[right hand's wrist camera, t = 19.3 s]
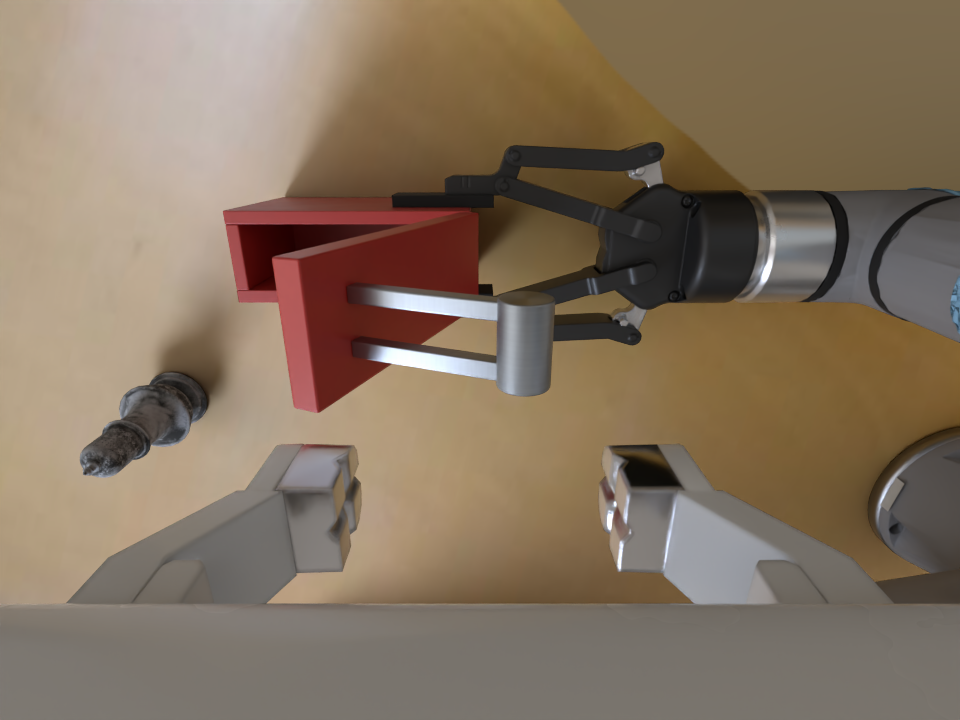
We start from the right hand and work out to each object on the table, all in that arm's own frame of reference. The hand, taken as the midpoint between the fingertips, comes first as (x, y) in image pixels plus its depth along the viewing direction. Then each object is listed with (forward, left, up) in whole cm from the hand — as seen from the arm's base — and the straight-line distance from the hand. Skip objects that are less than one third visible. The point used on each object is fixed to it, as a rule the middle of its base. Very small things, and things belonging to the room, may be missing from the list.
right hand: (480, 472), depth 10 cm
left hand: (-5, +2, -27) cm, 27 cm away
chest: (-8, +3, -34) cm, 35 cm away
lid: (-4, +1, -16) cm, 16 cm away
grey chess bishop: (-31, -4, -34) cm, 46 cm away
